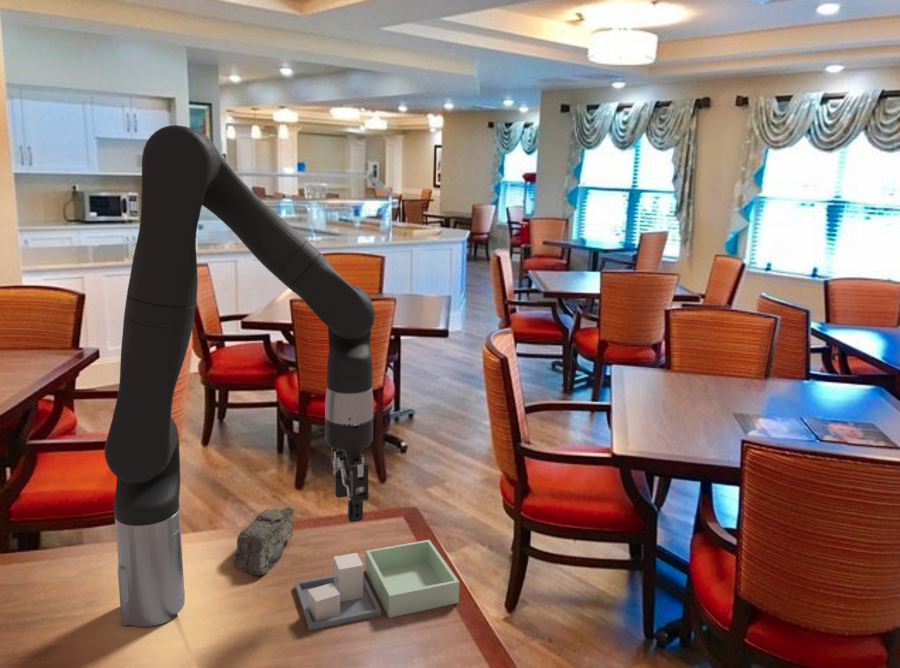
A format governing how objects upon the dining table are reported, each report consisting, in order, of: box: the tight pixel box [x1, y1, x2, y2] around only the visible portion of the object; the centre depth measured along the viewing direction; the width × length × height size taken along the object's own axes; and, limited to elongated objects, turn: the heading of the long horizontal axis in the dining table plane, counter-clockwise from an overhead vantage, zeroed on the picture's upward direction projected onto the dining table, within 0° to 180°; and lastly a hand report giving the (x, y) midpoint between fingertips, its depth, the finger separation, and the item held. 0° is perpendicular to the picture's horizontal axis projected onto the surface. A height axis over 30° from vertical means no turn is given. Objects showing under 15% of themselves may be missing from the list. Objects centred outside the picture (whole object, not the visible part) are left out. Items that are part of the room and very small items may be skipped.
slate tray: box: [294, 573, 382, 632], centre depth 116 cm, size 12×12×2 cm
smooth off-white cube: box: [308, 583, 340, 622], centre depth 112 cm, size 4×4×4 cm
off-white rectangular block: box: [333, 552, 364, 602], centre depth 118 cm, size 4×4×6 cm
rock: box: [232, 506, 295, 576], centre depth 129 cm, size 17×7×10 cm
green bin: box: [364, 539, 460, 619], centre depth 121 cm, size 12×14×4 cm
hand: (348, 508), depth 115 cm, fingers open, 8 cm apart
